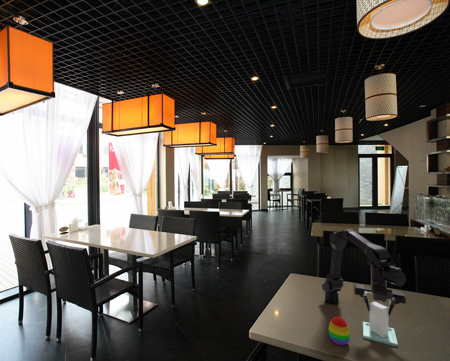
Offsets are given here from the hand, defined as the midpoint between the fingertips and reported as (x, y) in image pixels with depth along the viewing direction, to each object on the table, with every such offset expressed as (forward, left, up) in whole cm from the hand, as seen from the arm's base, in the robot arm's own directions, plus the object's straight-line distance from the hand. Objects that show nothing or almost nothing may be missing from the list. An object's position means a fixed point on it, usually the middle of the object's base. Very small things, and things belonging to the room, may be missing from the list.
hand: (378, 312), depth 108 cm
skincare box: (0, 0, -9) cm, 9 cm away
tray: (0, 0, -9) cm, 9 cm away
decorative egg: (-15, -13, -10) cm, 22 cm away
